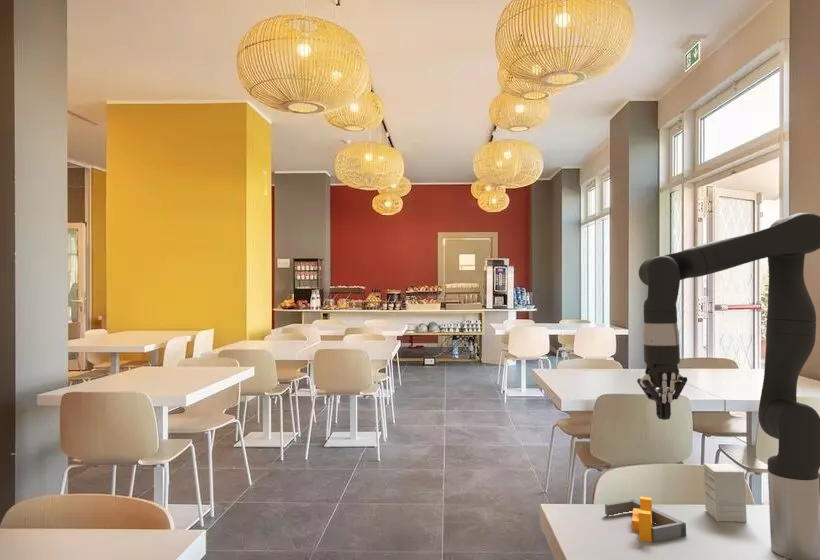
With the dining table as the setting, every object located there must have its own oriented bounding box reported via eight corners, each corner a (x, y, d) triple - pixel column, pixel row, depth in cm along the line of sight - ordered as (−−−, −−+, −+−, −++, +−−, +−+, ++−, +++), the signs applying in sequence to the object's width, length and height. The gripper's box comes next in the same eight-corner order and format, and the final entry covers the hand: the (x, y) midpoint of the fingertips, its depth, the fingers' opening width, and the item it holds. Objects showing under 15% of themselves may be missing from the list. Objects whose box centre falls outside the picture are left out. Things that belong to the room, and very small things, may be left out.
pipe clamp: (633, 521, 138) (633, 495, 139) (652, 523, 136) (651, 497, 137) (631, 539, 127) (630, 511, 128) (651, 542, 126) (650, 514, 126)
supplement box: (734, 511, 143) (732, 463, 144) (747, 522, 136) (745, 471, 137) (704, 510, 144) (702, 462, 145) (716, 521, 137) (714, 470, 138)
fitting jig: (634, 510, 145) (634, 499, 145) (686, 535, 129) (685, 523, 129) (605, 515, 141) (604, 504, 142) (654, 542, 125) (654, 529, 126)
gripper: (650, 345, 119) (653, 424, 118) (696, 342, 123) (699, 419, 122) (626, 343, 126) (628, 418, 125) (670, 341, 130) (673, 413, 129)
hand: (663, 418), depth 124 cm, fingers closed
